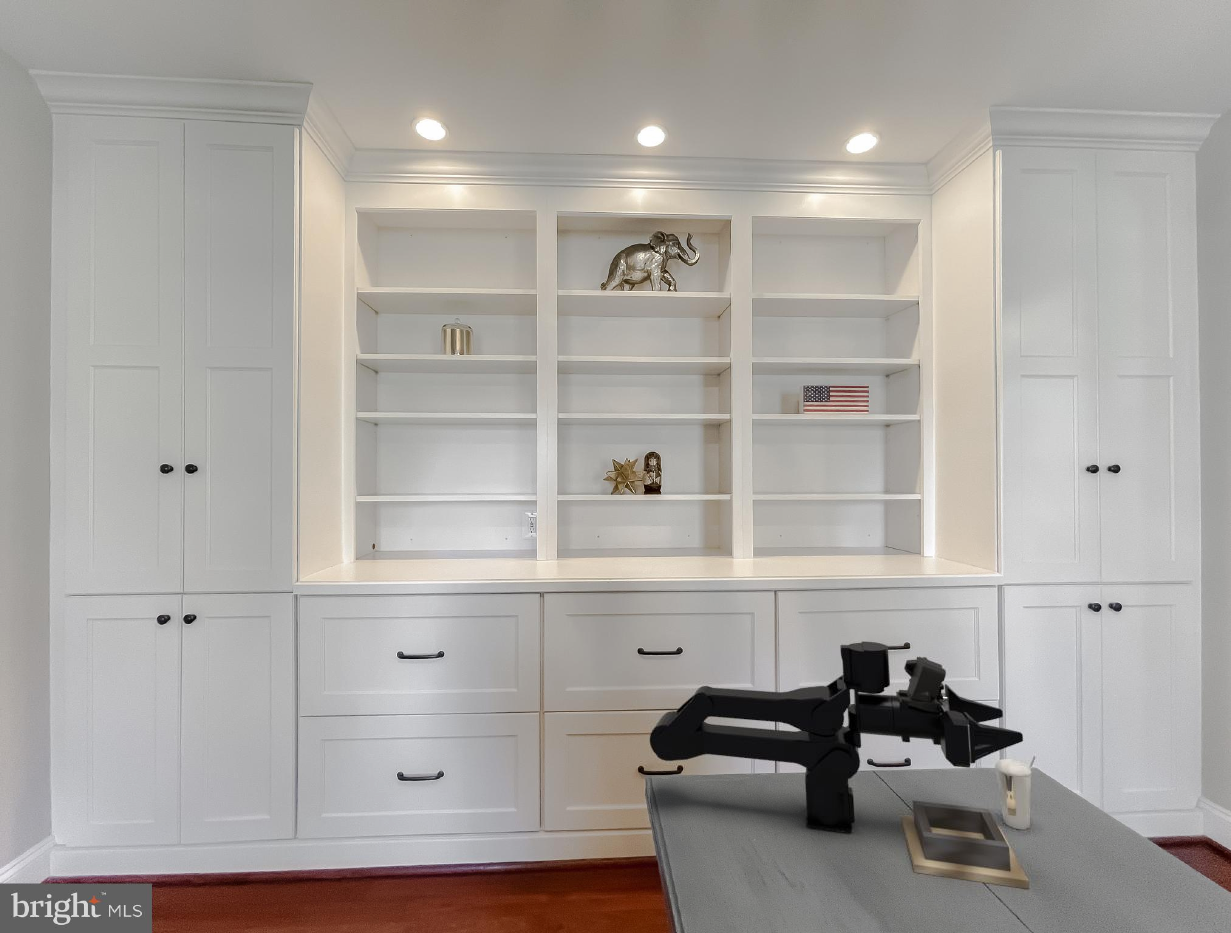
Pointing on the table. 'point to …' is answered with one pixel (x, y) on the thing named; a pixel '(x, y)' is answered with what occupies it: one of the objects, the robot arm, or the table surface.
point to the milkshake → (1015, 792)
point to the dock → (960, 844)
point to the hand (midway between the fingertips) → (1011, 724)
